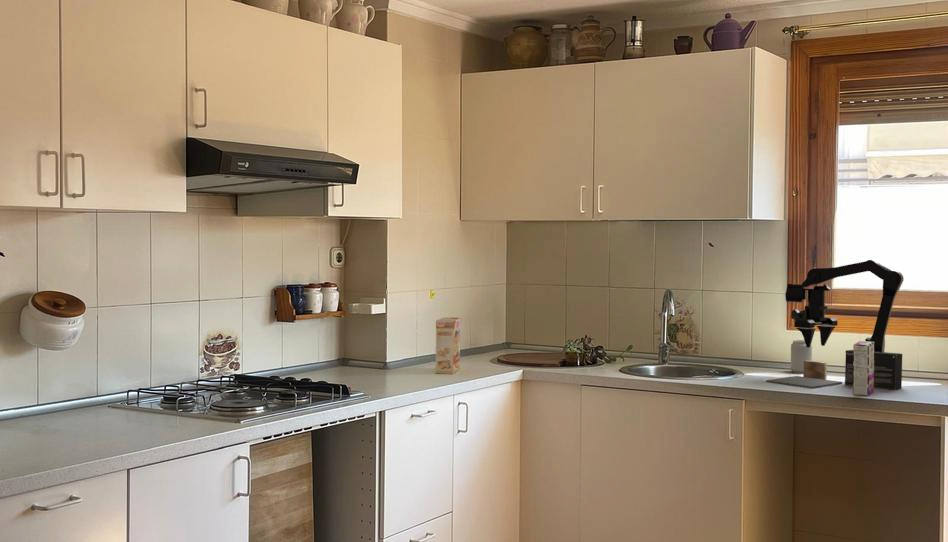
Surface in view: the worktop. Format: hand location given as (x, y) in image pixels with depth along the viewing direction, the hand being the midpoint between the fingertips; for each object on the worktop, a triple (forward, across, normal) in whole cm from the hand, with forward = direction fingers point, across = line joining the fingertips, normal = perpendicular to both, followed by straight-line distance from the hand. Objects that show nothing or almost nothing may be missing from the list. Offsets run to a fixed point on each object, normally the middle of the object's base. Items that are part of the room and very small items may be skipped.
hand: (815, 346), depth 335 cm
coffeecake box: (+11, +98, -90) cm, 133 cm away
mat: (+11, +13, +4) cm, 18 cm away
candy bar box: (+12, +17, +28) cm, 35 cm away
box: (+12, +1, +22) cm, 25 cm away
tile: (+12, 0, 0) cm, 12 cm away
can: (+12, -10, -12) cm, 19 cm away
